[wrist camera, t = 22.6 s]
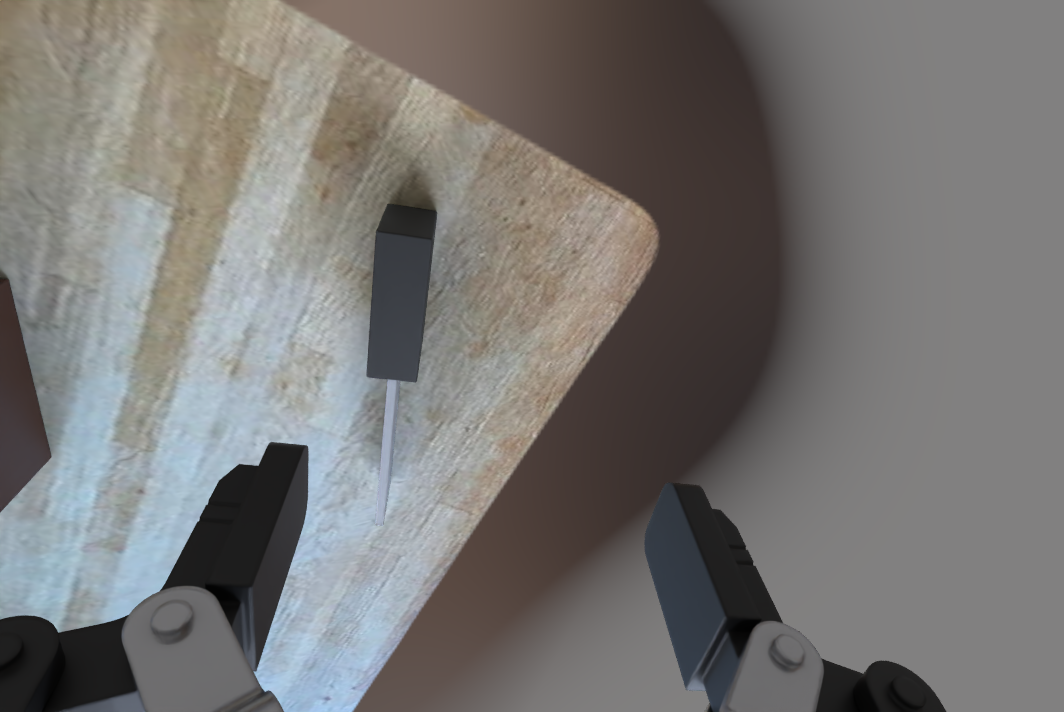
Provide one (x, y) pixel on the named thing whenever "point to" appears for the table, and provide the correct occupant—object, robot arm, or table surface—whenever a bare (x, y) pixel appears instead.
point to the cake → (17, 407)
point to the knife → (398, 315)
